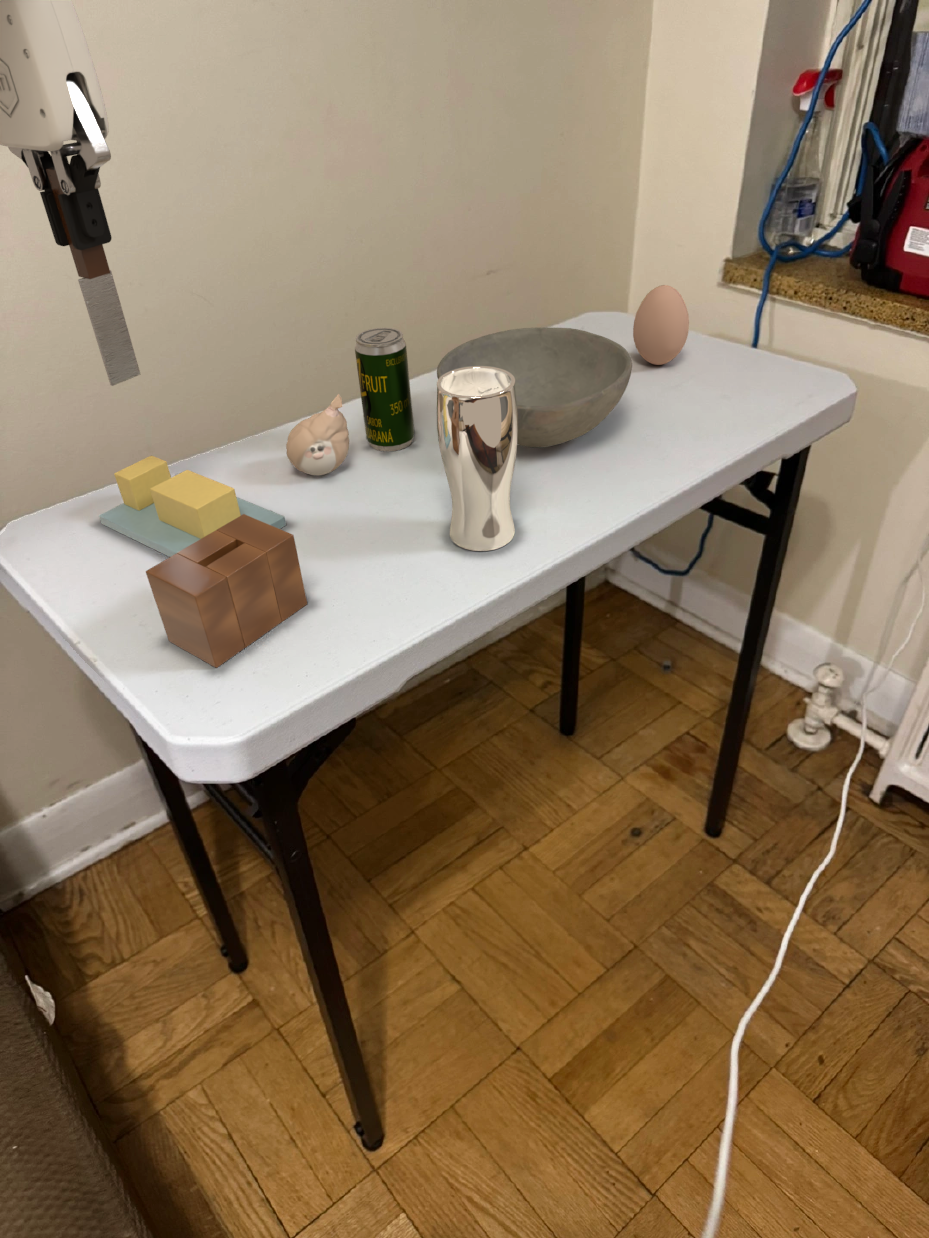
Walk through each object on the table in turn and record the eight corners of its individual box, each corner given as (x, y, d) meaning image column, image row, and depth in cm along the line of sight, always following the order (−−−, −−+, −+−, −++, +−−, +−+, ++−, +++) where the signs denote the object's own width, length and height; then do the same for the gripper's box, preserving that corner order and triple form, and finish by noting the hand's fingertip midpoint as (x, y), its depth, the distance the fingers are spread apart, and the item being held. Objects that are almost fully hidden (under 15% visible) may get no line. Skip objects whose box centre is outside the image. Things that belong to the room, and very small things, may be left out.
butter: (205, 541, 80) (196, 509, 78) (159, 520, 84) (149, 488, 82) (242, 520, 83) (234, 488, 81) (195, 500, 87) (187, 469, 85)
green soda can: (383, 427, 100) (371, 324, 93) (423, 435, 98) (414, 330, 91) (358, 447, 96) (343, 342, 89) (399, 456, 94) (387, 348, 87)
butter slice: (139, 511, 86) (128, 480, 83) (123, 504, 87) (113, 473, 85) (175, 492, 88) (166, 461, 86) (160, 485, 90) (151, 455, 87)
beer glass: (431, 544, 80) (418, 390, 71) (466, 508, 85) (458, 360, 76) (499, 561, 77) (494, 404, 68) (531, 523, 82) (531, 371, 73)
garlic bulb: (340, 486, 89) (329, 414, 85) (282, 483, 91) (268, 412, 86) (359, 457, 95) (350, 387, 90) (304, 454, 96) (292, 385, 91)
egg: (683, 375, 108) (692, 295, 102) (628, 372, 109) (634, 294, 103) (685, 354, 113) (694, 277, 107) (633, 352, 114) (638, 276, 108)
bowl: (667, 444, 93) (674, 373, 88) (495, 493, 87) (492, 419, 82) (566, 378, 109) (568, 314, 104) (413, 415, 102) (407, 349, 97)
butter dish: (205, 574, 78) (203, 565, 77) (101, 524, 86) (98, 515, 85) (286, 525, 84) (284, 516, 83) (182, 482, 92) (179, 473, 91)
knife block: (216, 668, 68) (194, 596, 63) (168, 641, 71) (144, 571, 66) (307, 604, 74) (293, 534, 69) (259, 581, 77) (243, 513, 72)
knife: (116, 387, 75) (51, 171, 65) (106, 384, 76) (39, 170, 66) (145, 376, 77) (85, 164, 67) (134, 372, 78) (73, 162, 68)
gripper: (-112, -37, 60) (-11, 243, 71) (11, -48, 52) (103, 269, 63) (-10, -41, 65) (70, 223, 76) (116, -52, 57) (184, 244, 68)
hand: (84, 242), depth 69 cm, fingers closed on knife, 1 cm apart
